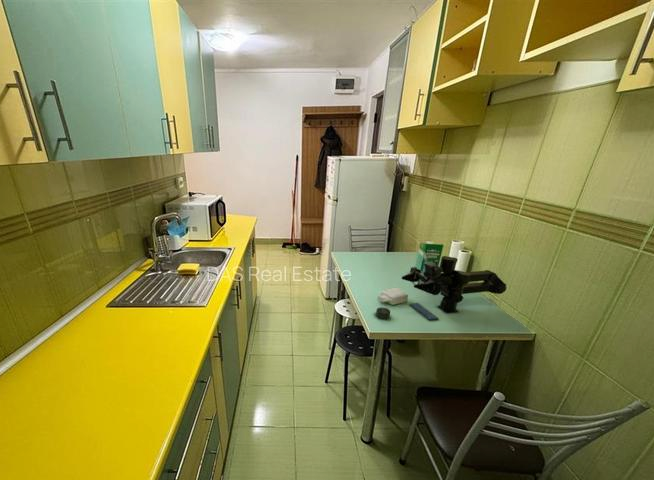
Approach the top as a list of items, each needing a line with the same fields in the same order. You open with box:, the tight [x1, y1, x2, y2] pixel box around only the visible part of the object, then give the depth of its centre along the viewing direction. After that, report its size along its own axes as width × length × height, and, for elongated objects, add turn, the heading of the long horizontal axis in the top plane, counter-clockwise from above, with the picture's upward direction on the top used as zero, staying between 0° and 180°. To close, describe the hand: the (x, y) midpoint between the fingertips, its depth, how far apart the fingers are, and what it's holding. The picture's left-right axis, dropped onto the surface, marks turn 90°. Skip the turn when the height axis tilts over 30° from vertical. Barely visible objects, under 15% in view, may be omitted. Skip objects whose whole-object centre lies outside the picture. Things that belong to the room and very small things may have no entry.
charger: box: [376, 287, 409, 306], centre depth 153 cm, size 5×9×15 cm
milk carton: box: [413, 240, 444, 285], centre depth 170 cm, size 9×9×25 cm
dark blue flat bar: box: [409, 302, 439, 321], centre depth 144 cm, size 4×15×1 cm, turn 13°
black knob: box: [375, 307, 391, 321], centre depth 139 cm, size 6×6×3 cm
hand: (407, 281), depth 135 cm, fingers open, 9 cm apart
